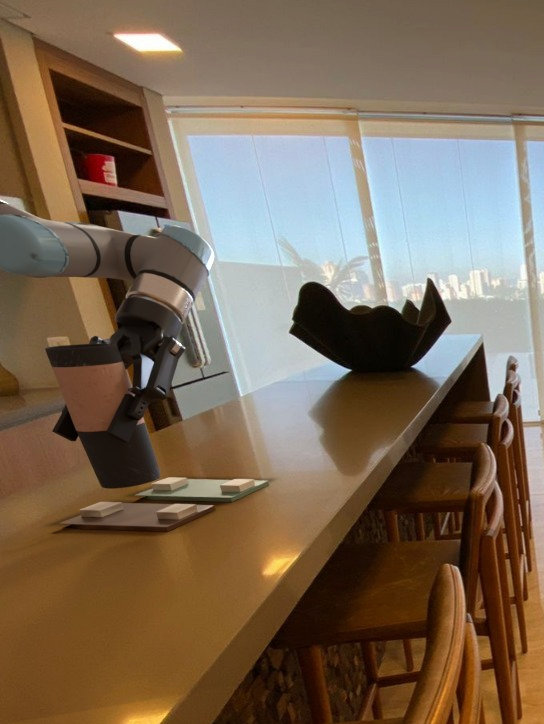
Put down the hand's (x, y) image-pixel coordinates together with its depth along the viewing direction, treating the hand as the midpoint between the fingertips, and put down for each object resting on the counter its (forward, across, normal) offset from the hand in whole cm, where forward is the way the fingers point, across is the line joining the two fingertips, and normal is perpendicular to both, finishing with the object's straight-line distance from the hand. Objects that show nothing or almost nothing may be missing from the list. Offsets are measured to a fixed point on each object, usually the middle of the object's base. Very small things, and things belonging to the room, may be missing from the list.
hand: (90, 436), depth 80 cm
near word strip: (+8, +1, -12) cm, 15 cm away
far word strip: (-1, +1, -21) cm, 21 cm away
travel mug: (+3, 0, -8) cm, 9 cm away
